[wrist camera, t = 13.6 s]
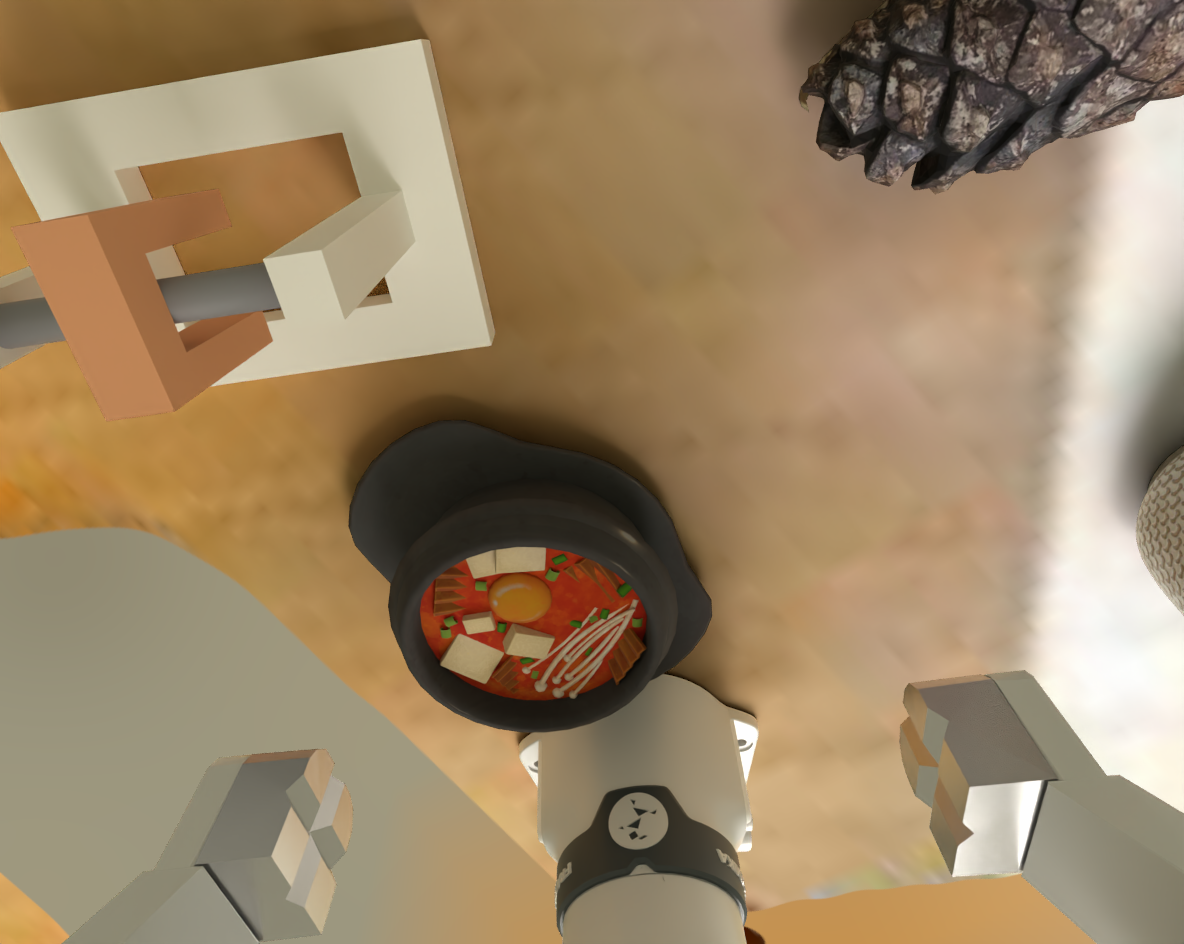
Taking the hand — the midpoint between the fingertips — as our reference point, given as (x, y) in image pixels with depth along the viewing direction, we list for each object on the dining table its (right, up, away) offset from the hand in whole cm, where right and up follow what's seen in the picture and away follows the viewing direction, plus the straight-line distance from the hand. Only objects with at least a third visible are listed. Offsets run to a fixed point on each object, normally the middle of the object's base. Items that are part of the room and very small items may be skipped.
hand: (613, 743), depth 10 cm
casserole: (-4, -2, +37) cm, 38 cm away
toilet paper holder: (-17, +16, +26) cm, 35 cm away
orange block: (-16, +12, +21) cm, 29 cm away
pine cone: (+18, +24, +23) cm, 37 cm away
